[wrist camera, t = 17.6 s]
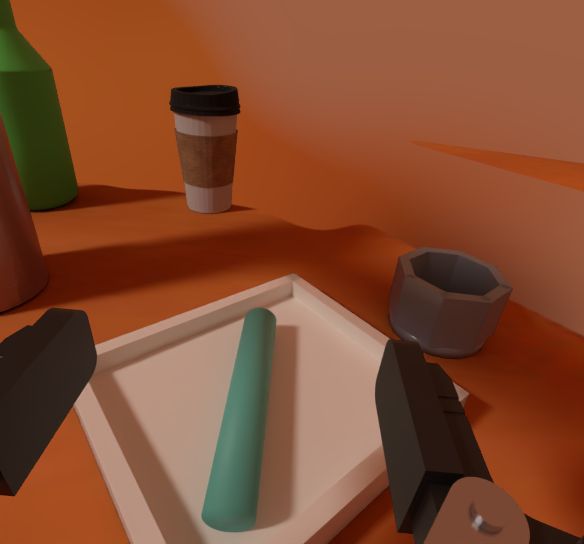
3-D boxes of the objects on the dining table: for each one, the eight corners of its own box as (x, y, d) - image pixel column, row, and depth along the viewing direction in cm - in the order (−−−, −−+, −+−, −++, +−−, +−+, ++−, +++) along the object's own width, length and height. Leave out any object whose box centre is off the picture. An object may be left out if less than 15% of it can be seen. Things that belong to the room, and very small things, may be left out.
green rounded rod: (242, 329, 29) (198, 528, 17) (247, 304, 28) (204, 499, 16) (273, 335, 30) (251, 535, 18) (279, 311, 28) (260, 507, 16)
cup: (369, 318, 34) (380, 264, 31) (422, 290, 38) (436, 240, 36) (452, 374, 29) (475, 314, 26) (501, 333, 33) (526, 279, 30)
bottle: (31, 187, 55) (-32, -36, 42) (92, 192, 55) (47, -29, 42) (-15, 210, 47) (-109, -53, 34) (56, 216, 47) (-13, -46, 34)
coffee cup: (250, 212, 52) (252, 91, 45) (189, 221, 49) (179, 90, 41) (226, 192, 59) (224, 83, 51) (170, 198, 55) (159, 81, 47)
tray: (66, 387, 25) (56, 359, 24) (291, 295, 36) (293, 273, 35) (186, 678, 14) (180, 655, 13) (457, 419, 25) (469, 393, 24)
